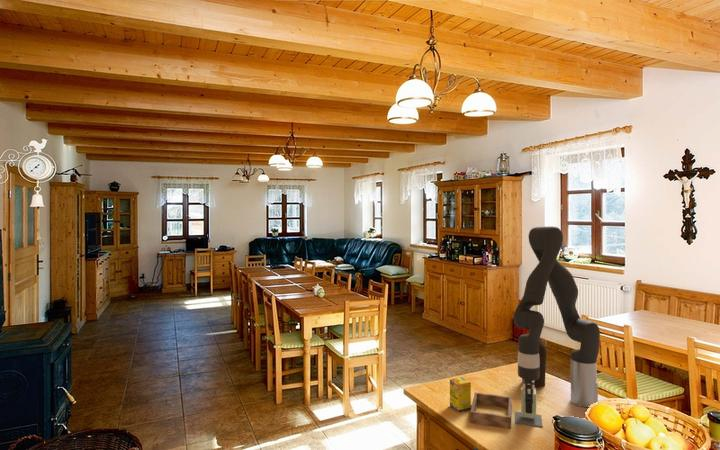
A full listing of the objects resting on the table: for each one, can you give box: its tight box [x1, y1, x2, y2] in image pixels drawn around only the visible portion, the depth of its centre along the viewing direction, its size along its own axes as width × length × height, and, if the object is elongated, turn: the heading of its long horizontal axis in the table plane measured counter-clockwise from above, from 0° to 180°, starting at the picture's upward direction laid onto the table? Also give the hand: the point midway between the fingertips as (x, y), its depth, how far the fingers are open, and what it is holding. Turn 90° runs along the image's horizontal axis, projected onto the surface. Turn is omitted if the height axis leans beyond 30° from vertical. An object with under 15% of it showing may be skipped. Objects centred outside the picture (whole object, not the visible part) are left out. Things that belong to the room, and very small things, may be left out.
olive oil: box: [521, 339, 548, 389], centre depth 192 cm, size 11×11×25 cm
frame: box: [469, 391, 513, 429], centre depth 164 cm, size 14×18×4 cm
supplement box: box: [449, 376, 472, 413], centre depth 170 cm, size 6×6×11 cm
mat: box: [515, 411, 543, 428], centre depth 160 cm, size 9×9×1 cm
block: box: [520, 386, 537, 419], centre depth 160 cm, size 5×5×9 cm
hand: (528, 409), depth 160 cm, fingers closed on block, 5 cm apart
